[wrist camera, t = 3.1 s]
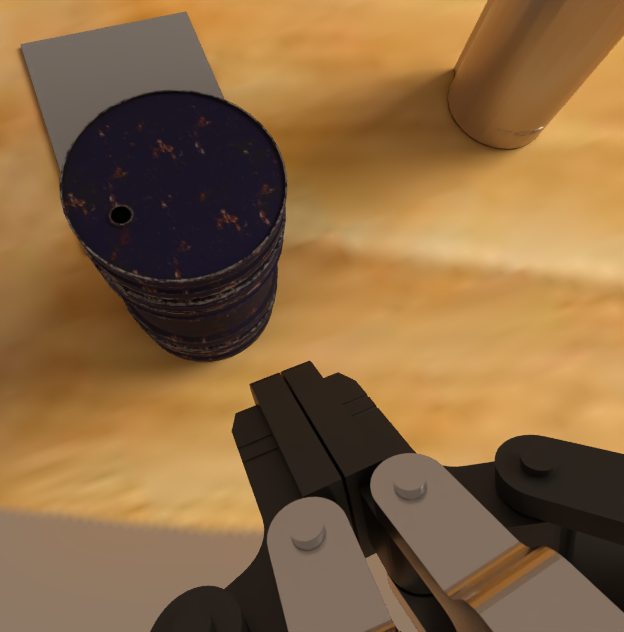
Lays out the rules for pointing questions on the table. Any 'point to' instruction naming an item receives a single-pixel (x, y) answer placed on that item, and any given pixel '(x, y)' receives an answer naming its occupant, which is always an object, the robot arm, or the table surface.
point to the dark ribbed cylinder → (181, 217)
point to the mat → (113, 71)
